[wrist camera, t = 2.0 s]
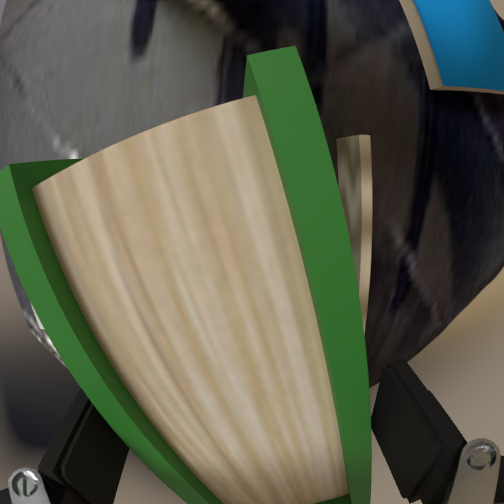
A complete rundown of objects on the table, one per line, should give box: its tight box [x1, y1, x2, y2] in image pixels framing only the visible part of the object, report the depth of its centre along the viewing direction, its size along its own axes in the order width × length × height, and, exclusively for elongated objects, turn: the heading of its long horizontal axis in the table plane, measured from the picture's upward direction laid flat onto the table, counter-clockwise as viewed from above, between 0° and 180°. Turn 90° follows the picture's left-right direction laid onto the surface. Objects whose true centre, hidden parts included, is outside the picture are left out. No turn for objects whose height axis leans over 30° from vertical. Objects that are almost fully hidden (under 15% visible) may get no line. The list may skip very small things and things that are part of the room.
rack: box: [336, 135, 372, 334], centre depth 29 cm, size 31×23×7 cm
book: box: [399, 0, 504, 94], centre depth 21 cm, size 17×4×25 cm
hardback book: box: [0, 46, 372, 504], centre depth 19 cm, size 18×7×24 cm, turn 16°
